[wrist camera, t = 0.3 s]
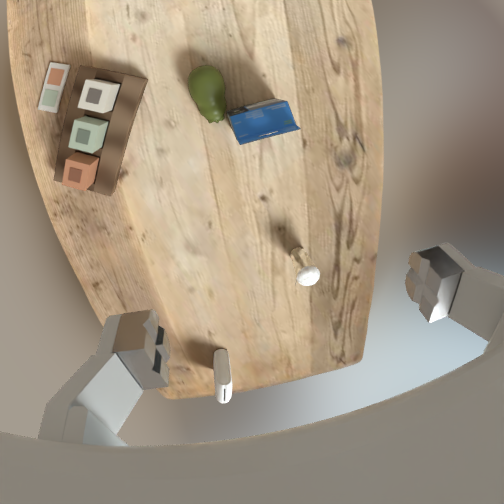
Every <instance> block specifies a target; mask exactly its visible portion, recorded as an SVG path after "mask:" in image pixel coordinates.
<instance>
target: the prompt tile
mask: <svg viewBox="0 0 504 504" xmlns="http://www.w3.org/2000/svg"><path fill="white" fill-rule="evenodd" d="M70 67H71V65H67V64H60V63H53V62H50V65H49V68H48V72H47V75H46V79H45V82H44V86H43V90H42V94H41V98H40V102H39V106H38V109H39V110H44V111H49V112H54V113H58V109H59V105H60V101H61V97H62V94H63V90H64V86H65V83H66V79H67V76H68V73H69V70H70Z"/></svg>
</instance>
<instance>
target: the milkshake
mask: <svg viewBox="0 0 504 504" xmlns="http://www.w3.org/2000/svg"><path fill="white" fill-rule="evenodd" d="M290 256H291V259H292V262H293V266H294V269H295V274H296V277H297V279H296V282H297V281H298V283H299V284H301V285H303V286H309V285H313V284H315V283H316V282H317V280H318V279H319V276H320V272H319V270H318V268H317V267H316V266H315V264H314V263H313V262H312V260H311V259H310V257H309V256H308V254H307V253H306V251H305V250H304V249H303V248H301V247H298V248H295V249H293V250H292V251H291V254H290ZM295 285H296V283H295Z"/></svg>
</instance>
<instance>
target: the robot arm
mask: <svg viewBox="0 0 504 504" xmlns="http://www.w3.org/2000/svg"><path fill="white" fill-rule="evenodd" d="M408 264H409V265H410V267H411V269H410V270H409V272H408V273H407V274H406V280H405V284H406V290H407V293H408V295H409V297H410V298H411V299H412V301H414V302H416V303H418V304H420V305H419V310H420V312H421V313H422V314H423V316H424V317H425V318H426V319H427V321H428V322H429V323H430V322H433V321H436V320H439V319H441V318H444V317H447V316H448V317H449V318H451V319H452V320H454V321H456V322H457V323H459V324H461V325H462V326H464V327H465V328H467V329H469V330H471V331H472V332H474V333H475V334H477V335H478V336H480V337H482V338H483V339H485V340H487V341H488V344H487V346H486V348H485V350H484V353H483V354H482V355H481V356H479V357H477V358H476V359H474V360H472V361H470V362H468V363H466V364H464V365H462V366H461V367H459V368H457V369H455V370H453V371H451V372H449V373H447V374H445V375H443V376H440V377H438V378H436V379H434V380H432V381H430V382H428V383H426V384H423V385H421V386H419V387H416V388H414V389H412V390H409V391H407V392H404V393H402V394H399V395H397V396H394V397H392V398H389V399H387V400H384V401H381V402H379V403H376V404H373V405H370V406H367V407H364V408H361V409H358V410H355V411H352V412H349V413H346V414H343V415H339V416H336V417H332V418H329V419H326V420H322V421H318V422H314V423H310V424H307V425H303V426H299V427H294V428H290V429H285V430H281V431H276V432H271V433H266V434H261V435H255V436H249V437H243V438H236V439H229V440H222V441H213V442H205V443H194V444H182V445H164V446H129V445H128V444H127V443H125V442H124V441H123V440H122V439H120V438H119V437H118V436H117V435H116V434H117V433H118V431H119V429H120V428H121V426H122V425H123V423H124V421H125V420H126V418H127V417H128V415H129V413H130V412H131V410H132V409H133V407H134V405H135V404H136V402H137V401H138V399H139V397H140V396H141V394H142V393H143V390H146V389H154V388H162V387H168V385H169V368H168V366H167V364H166V362H167V361H168V360H169V358H170V344H169V339H168V336H167V333H166V331H165V329H164V328H162V327H160V326H159V317H158V315H157V313H156V311H155V310H153V309H151V310H144V311H137V312H130V313H123V314H118V315H111V316H109V317H108V318H107V319H106V322H105V325H104V328H103V332H102V335H101V338H100V342H99V345H98V349H97V352H96V355H92V356H91V357H90V358H89V359H88V360H87V361H86V362H85V363H84V364H83V365H82V366H81V367H80V369H78V370H77V372H76V373H75V374H74V375H73V376H72V377H71V378H70V379H69V380H68V381H67V382H66V383H65V384H64V386H63V387H62V388H61V389H60V390H59V391H58V392H57V393H56V394H55V395H54V396H53V397H52V399H51V400H50V401H49V402H48V403H47V404H46V407H45V411H44V415H43V419H42V423H41V427H40V431H39V435H38V439H36V438H30V437H25V436H19V435H14V434H10V433H5V432H1V431H0V504H504V276H502V275H499V274H497V273H494V272H492V271H489V270H487V269H484V268H481V267H475V266H474V265H472V263H471V262H470V261H469V260H467V259H466V258H465V257H464V256H463V255H462V254H461V253H460V252H459V251H458V250H457V249H455V248H454V247H453V246H452V245H451V244H449V243H443V244H439V245H436V246H434V247H431V248H427V249H423V250H420V251H416V252H413V253H411V255H410V257H409V262H408Z"/></svg>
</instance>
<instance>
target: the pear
mask: <svg viewBox="0 0 504 504" xmlns="http://www.w3.org/2000/svg"><path fill="white" fill-rule="evenodd" d="M188 87H189V91H190V94H191V97H192V98H193V100H194V101H195V102H196V103H197V105H198V108H199V111H200V114H201V115H202V116H204V117H205V118H206V119H207V120H208V122H209V123H212V122H213V121H214V122H216V123H218V122H219V121H222V120H223V119H224V113H225V110H226V107H227V105H226V101H225V97H224V94H225V84H224V80H223V77H222V75H221V73H220V72H219V71H218V70H217V69H216V68H215V67H213V66H209V65H205V66H200V67H198V68H196V69H194V70H193V71H192V72H191V73H190V75H189V78H188ZM216 120H217V121H216Z"/></svg>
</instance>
